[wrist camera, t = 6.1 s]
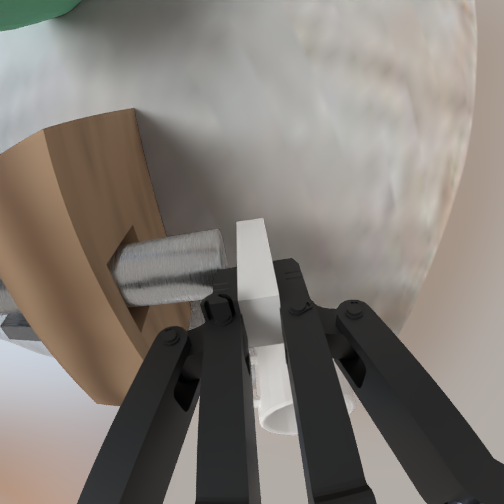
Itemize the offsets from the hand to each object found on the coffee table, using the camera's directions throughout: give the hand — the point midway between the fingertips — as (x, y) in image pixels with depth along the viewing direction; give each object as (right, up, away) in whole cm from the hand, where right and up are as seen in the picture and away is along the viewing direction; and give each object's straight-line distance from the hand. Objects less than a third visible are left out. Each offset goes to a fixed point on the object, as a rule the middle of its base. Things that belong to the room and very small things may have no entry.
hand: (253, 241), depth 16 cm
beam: (-10, +1, +5) cm, 11 cm away
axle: (-12, -2, +1) cm, 12 cm away
